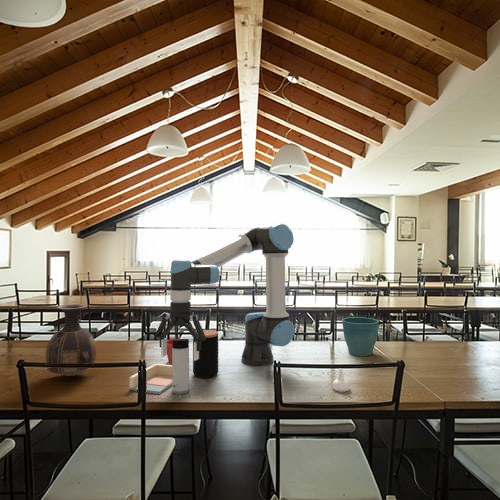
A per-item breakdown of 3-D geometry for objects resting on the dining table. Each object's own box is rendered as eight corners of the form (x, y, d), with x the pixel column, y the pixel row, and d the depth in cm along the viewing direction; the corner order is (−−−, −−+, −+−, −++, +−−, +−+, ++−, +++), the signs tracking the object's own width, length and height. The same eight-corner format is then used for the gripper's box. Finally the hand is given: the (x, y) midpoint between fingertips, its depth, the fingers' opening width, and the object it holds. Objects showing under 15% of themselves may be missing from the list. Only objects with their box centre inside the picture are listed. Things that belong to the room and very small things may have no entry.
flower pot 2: (340, 356, 189) (340, 322, 189) (343, 347, 206) (343, 316, 206) (378, 359, 183) (378, 324, 183) (378, 350, 200) (378, 318, 200)
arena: (183, 378, 157) (183, 366, 157) (159, 394, 140) (159, 380, 140) (155, 375, 161) (155, 363, 161) (129, 390, 144) (129, 377, 144)
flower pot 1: (183, 365, 174) (183, 344, 174) (161, 364, 176) (161, 343, 176) (191, 359, 185) (191, 339, 185) (170, 358, 187) (170, 338, 187)
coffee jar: (223, 373, 163) (223, 331, 163) (208, 380, 154) (208, 336, 154) (203, 369, 169) (203, 329, 169) (187, 376, 160) (187, 333, 160)
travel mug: (173, 395, 139) (172, 340, 139) (171, 389, 145) (171, 336, 145) (190, 393, 141) (190, 339, 141) (188, 387, 147) (187, 335, 147)
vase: (39, 375, 161) (39, 304, 161) (87, 366, 174) (87, 300, 174) (53, 390, 144) (52, 311, 144) (104, 379, 156) (104, 306, 156)
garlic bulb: (330, 388, 148) (329, 367, 148) (346, 386, 148) (344, 365, 148) (335, 394, 142) (333, 372, 142) (352, 392, 142) (350, 370, 142)
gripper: (215, 301, 142) (214, 358, 142) (157, 298, 150) (156, 352, 150) (206, 304, 135) (206, 363, 135) (146, 300, 143) (145, 357, 143)
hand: (179, 357), depth 143 cm, fingers open, 13 cm apart
